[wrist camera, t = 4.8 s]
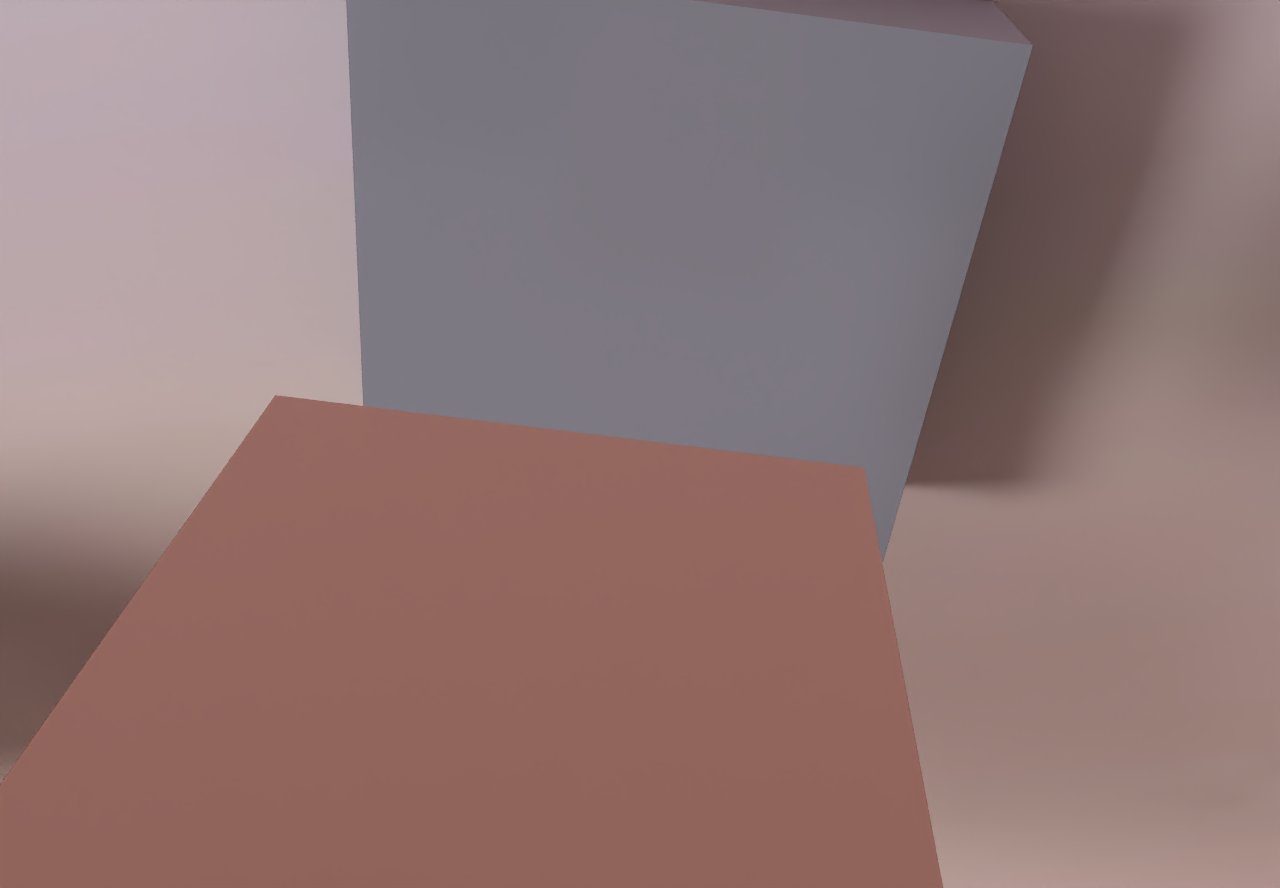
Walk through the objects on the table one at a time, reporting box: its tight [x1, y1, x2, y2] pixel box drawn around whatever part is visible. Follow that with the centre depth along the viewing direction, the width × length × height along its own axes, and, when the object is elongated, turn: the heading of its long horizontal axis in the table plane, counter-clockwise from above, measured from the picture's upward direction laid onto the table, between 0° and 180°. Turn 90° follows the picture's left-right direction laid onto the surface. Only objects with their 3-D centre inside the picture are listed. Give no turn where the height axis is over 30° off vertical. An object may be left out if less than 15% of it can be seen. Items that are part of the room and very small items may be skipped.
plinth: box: [346, 0, 1033, 562], centre depth 18 cm, size 9×9×3 cm
